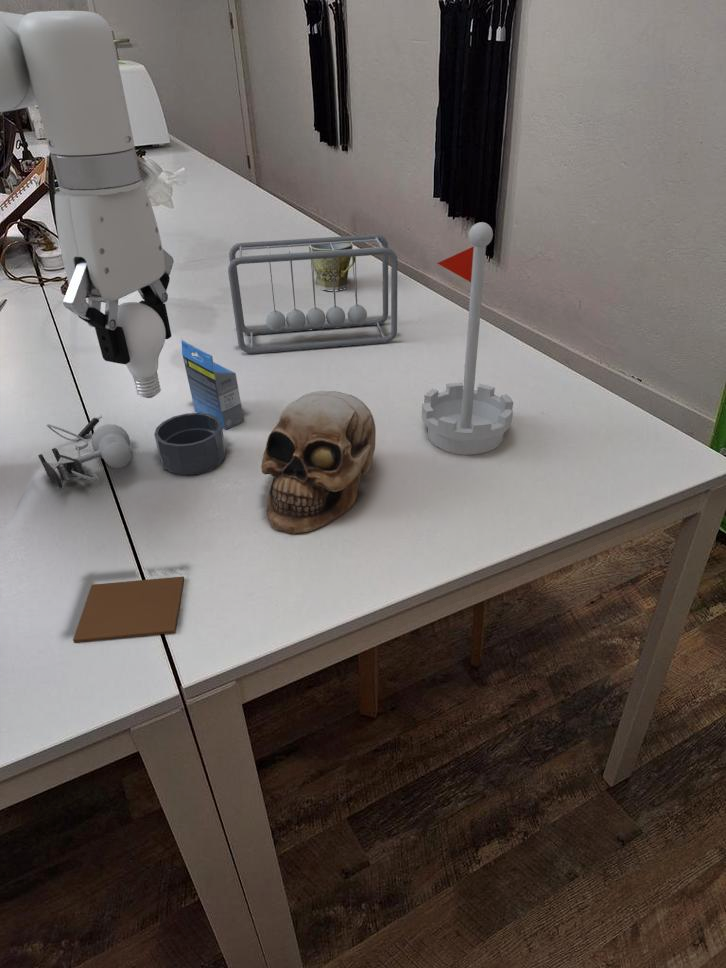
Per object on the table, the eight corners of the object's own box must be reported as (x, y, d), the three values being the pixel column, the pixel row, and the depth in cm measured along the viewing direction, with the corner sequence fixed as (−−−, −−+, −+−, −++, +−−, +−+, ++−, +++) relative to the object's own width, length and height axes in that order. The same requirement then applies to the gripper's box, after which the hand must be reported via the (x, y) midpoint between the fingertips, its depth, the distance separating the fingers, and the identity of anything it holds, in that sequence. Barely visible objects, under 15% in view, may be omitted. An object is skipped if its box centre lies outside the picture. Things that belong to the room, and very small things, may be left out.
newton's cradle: (387, 323, 133) (387, 232, 123) (397, 342, 125) (398, 247, 115) (240, 334, 130) (227, 243, 120) (239, 355, 122) (226, 259, 112)
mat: (73, 642, 65) (72, 640, 65) (92, 587, 72) (91, 584, 72) (175, 633, 66) (174, 630, 66) (184, 578, 73) (183, 576, 72)
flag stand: (511, 417, 100) (536, 211, 83) (508, 462, 90) (537, 238, 73) (426, 410, 103) (434, 208, 86) (415, 454, 92) (421, 234, 75)
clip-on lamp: (48, 463, 98) (55, 502, 83) (29, 424, 95) (34, 458, 80) (125, 435, 102) (145, 468, 87) (109, 398, 99) (128, 425, 84)
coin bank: (271, 538, 78) (261, 435, 71) (257, 473, 92) (248, 383, 86) (397, 520, 81) (399, 420, 74) (365, 460, 95) (364, 372, 89)
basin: (157, 479, 89) (149, 448, 86) (166, 444, 96) (159, 415, 93) (224, 474, 89) (218, 443, 87) (228, 440, 97) (223, 410, 94)
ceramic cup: (302, 287, 153) (299, 243, 147) (335, 277, 158) (333, 235, 153) (338, 300, 145) (336, 255, 139) (371, 290, 150) (370, 245, 145)
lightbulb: (189, 395, 76) (171, 302, 69) (141, 415, 72) (117, 319, 65) (158, 379, 79) (138, 289, 73) (110, 397, 75) (86, 305, 69)
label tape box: (245, 421, 101) (234, 347, 94) (223, 431, 99) (211, 356, 92) (213, 403, 106) (201, 331, 99) (192, 412, 104) (177, 339, 97)
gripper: (126, 155, 69) (159, 317, 80) (-6, 187, 56) (54, 375, 67) (185, 158, 67) (211, 325, 77) (61, 192, 54) (113, 387, 64)
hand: (138, 347), depth 72 cm, fingers closed on lightbulb, 6 cm apart
